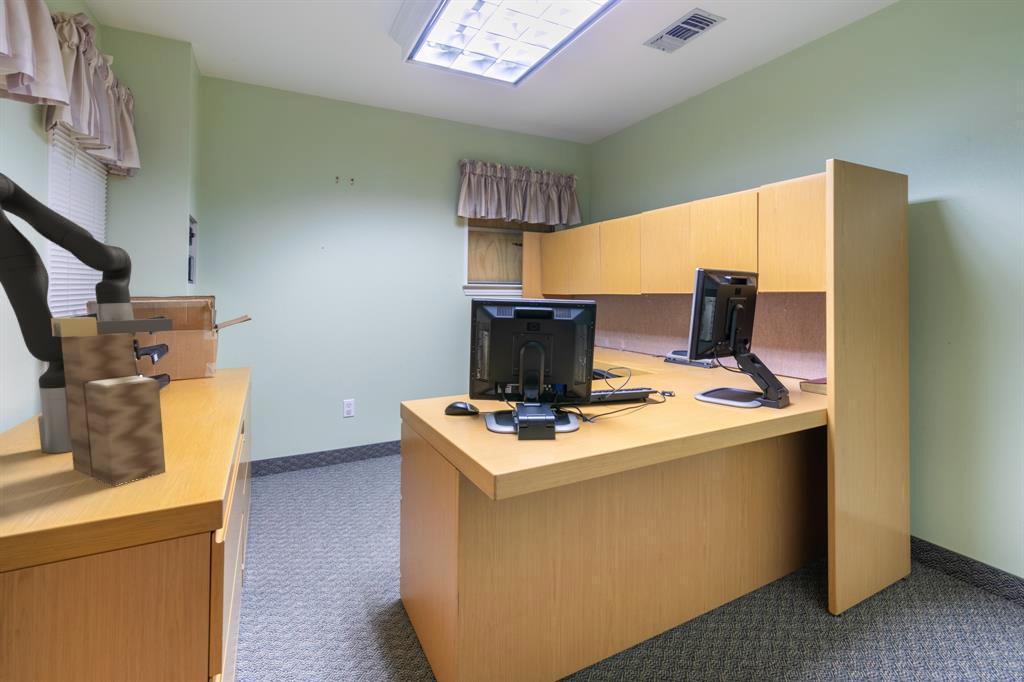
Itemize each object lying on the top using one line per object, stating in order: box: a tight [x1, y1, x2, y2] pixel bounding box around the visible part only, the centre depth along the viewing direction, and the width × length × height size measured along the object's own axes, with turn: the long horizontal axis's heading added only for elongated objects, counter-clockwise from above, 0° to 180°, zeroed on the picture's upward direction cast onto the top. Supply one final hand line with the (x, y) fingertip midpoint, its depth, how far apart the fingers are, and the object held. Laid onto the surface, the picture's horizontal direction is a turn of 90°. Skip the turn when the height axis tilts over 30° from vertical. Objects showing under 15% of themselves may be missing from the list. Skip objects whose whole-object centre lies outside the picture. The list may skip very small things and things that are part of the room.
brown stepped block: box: [61, 333, 166, 487], centre depth 111 cm, size 10×21×32 cm, turn 60°
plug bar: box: [51, 316, 174, 337], centre depth 115 cm, size 22×6×4 cm, turn 150°
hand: (123, 379), depth 131 cm, fingers open, 8 cm apart
